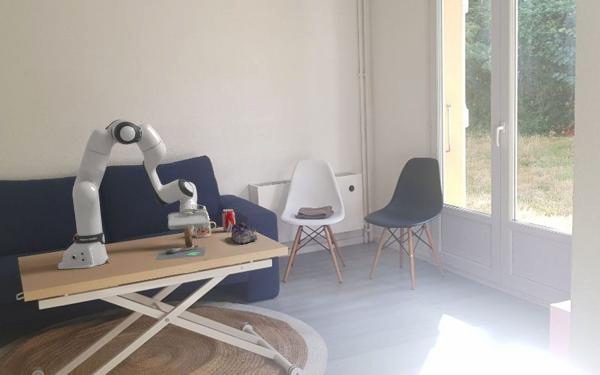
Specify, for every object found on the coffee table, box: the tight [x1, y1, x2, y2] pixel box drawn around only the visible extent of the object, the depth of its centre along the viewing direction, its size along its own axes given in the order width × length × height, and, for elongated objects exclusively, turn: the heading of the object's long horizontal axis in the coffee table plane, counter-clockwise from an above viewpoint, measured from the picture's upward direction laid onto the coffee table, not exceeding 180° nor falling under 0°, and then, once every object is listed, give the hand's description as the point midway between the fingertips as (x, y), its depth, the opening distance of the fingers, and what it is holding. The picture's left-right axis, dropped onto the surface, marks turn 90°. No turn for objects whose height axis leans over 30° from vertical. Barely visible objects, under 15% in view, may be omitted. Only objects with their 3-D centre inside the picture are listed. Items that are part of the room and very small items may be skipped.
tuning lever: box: [165, 226, 199, 254], centre depth 276 cm, size 15×4×11 cm, turn 117°
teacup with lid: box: [194, 218, 217, 239], centre depth 315 cm, size 12×9×12 cm
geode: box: [230, 220, 258, 245], centre depth 299 cm, size 20×12×10 cm, turn 28°
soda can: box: [221, 208, 236, 233], centre depth 324 cm, size 7×7×12 cm
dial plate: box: [155, 246, 206, 261], centre depth 273 cm, size 22×17×2 cm
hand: (189, 234), depth 282 cm, fingers closed
